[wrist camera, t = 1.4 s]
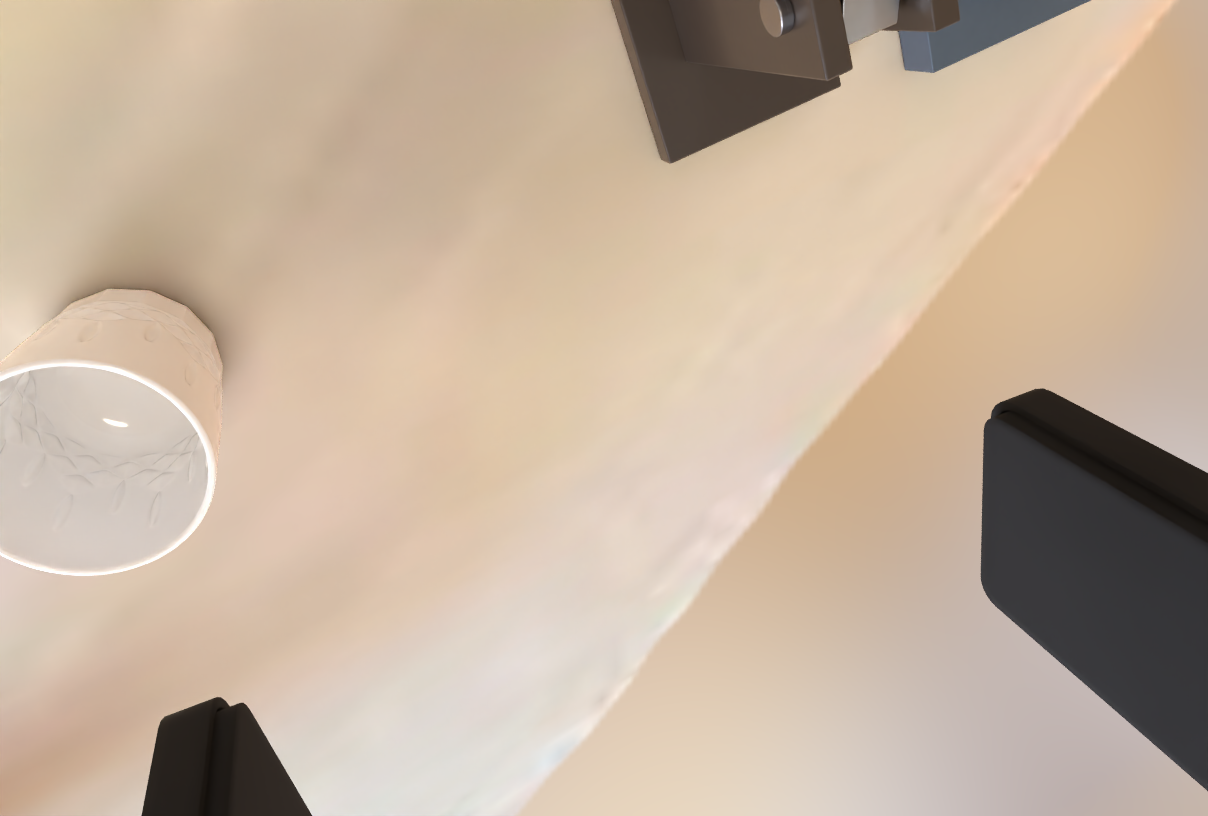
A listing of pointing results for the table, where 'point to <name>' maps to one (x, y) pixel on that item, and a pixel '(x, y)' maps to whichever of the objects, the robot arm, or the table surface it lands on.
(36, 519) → the white cup
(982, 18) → the button box
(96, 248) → the table surface
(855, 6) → the tap lever
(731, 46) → the bracket
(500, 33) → the table surface
